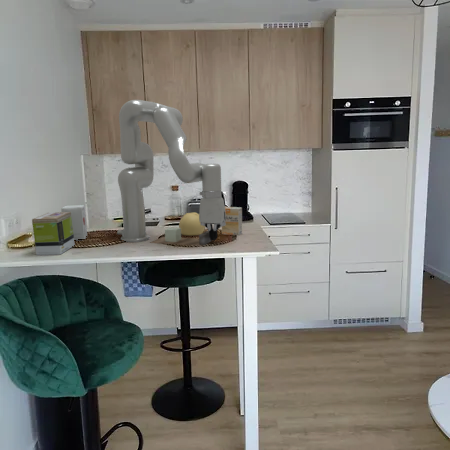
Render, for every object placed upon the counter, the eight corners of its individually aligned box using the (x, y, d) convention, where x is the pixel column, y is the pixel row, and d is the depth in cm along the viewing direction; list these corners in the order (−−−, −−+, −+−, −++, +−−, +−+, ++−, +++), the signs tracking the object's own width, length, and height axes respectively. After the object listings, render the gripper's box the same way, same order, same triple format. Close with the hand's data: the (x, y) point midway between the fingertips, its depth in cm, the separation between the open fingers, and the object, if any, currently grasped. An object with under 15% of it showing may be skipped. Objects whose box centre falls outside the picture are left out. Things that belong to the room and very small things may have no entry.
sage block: (165, 241, 178) (164, 229, 177) (170, 238, 183) (170, 227, 182) (176, 242, 177) (175, 230, 176) (181, 239, 181) (180, 228, 180)
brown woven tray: (149, 245, 177) (149, 233, 176) (163, 238, 188) (162, 227, 187) (203, 248, 169) (202, 235, 168) (214, 241, 180) (213, 230, 179)
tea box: (52, 246, 180) (48, 211, 177) (75, 246, 180) (72, 211, 177) (35, 255, 165) (31, 218, 163) (60, 255, 165) (57, 217, 162)
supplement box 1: (84, 240, 191) (81, 207, 188) (63, 241, 189) (60, 208, 186) (87, 236, 199) (85, 204, 197) (67, 237, 198) (64, 205, 195)
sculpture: (210, 234, 197) (209, 211, 195) (196, 239, 186) (195, 215, 184) (189, 232, 202) (188, 210, 200) (174, 237, 192) (173, 213, 190)
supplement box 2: (221, 236, 190) (220, 207, 188) (225, 234, 195) (224, 206, 192) (239, 237, 187) (238, 208, 185) (242, 235, 192) (242, 206, 189)
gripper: (191, 195, 169) (192, 240, 173) (226, 196, 164) (227, 242, 168) (198, 193, 176) (200, 237, 179) (232, 194, 171) (233, 238, 174)
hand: (213, 239), depth 173 cm, fingers closed
